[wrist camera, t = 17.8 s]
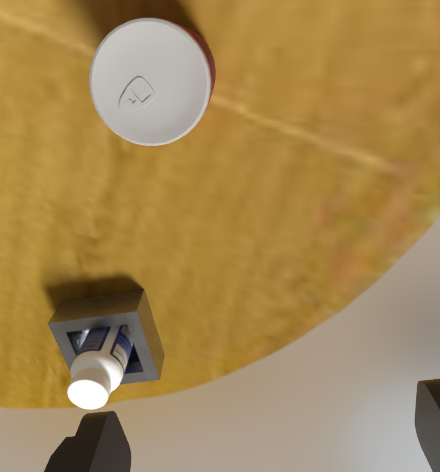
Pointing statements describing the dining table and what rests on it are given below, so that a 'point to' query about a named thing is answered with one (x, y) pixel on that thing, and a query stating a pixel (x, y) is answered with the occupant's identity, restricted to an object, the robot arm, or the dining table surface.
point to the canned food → (152, 80)
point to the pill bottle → (99, 365)
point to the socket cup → (106, 315)
